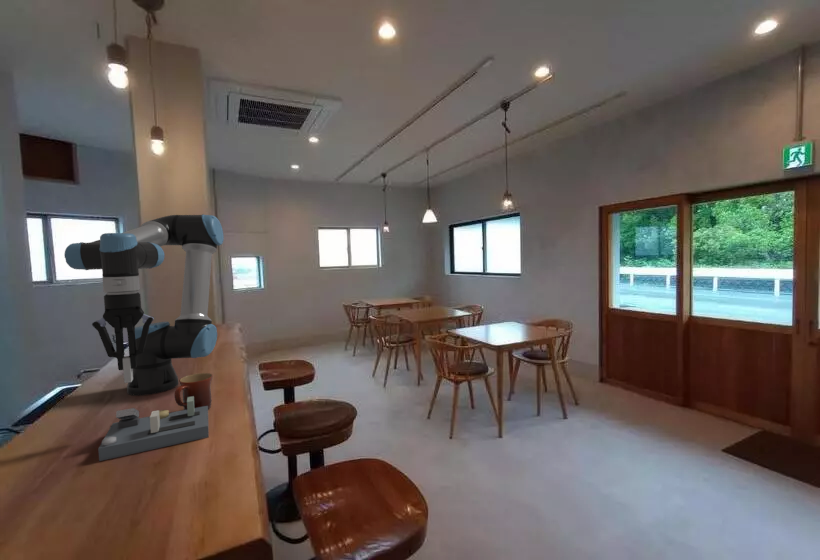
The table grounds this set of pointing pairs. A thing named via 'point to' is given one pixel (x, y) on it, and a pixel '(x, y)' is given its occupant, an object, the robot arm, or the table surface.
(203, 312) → the robot arm
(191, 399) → the grey block
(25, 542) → the table surface
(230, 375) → the table surface
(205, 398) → the mug
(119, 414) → the block
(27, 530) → the table surface
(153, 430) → the pale grey cuboid
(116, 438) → the console
